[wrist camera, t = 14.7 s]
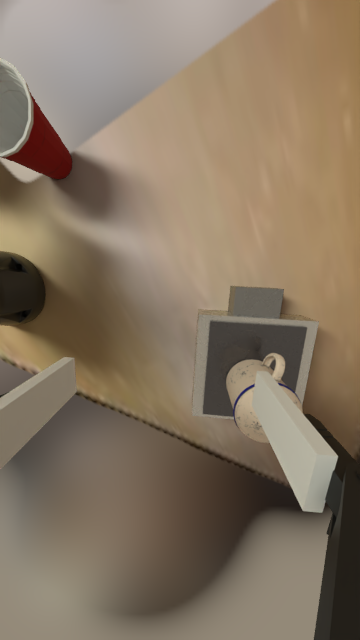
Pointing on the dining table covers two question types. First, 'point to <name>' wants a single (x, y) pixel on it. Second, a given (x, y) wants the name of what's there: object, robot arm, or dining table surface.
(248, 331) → the white flat block
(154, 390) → the dining table surface
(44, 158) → the plastic cup
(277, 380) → the teacup with lid
